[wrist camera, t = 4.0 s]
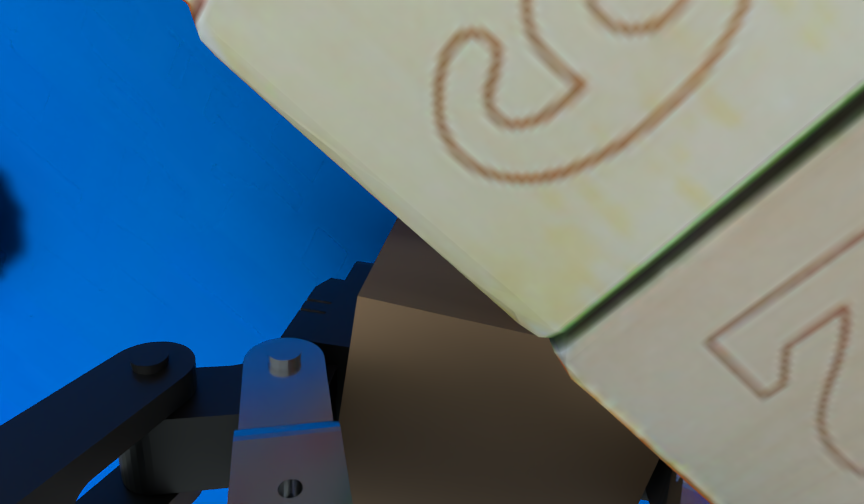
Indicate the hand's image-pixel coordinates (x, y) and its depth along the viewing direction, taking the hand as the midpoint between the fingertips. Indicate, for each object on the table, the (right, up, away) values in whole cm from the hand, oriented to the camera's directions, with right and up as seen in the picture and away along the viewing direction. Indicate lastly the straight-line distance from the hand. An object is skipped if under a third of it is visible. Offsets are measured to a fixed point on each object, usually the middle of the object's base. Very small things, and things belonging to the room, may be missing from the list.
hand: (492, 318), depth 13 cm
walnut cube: (0, 0, +1) cm, 1 cm away
